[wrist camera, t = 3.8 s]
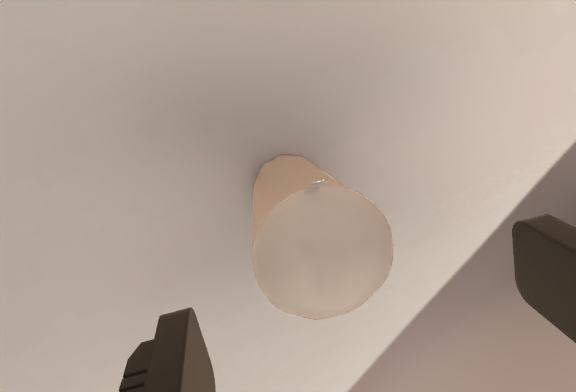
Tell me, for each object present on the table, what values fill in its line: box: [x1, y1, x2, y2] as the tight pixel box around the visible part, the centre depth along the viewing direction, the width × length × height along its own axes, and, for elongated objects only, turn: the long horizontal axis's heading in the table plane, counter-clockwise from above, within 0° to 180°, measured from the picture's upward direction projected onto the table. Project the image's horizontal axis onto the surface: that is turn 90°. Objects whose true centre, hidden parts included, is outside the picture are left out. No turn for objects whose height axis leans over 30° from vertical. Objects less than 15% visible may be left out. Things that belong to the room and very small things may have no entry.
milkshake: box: [253, 155, 393, 319], centre depth 18 cm, size 4×5×10 cm
